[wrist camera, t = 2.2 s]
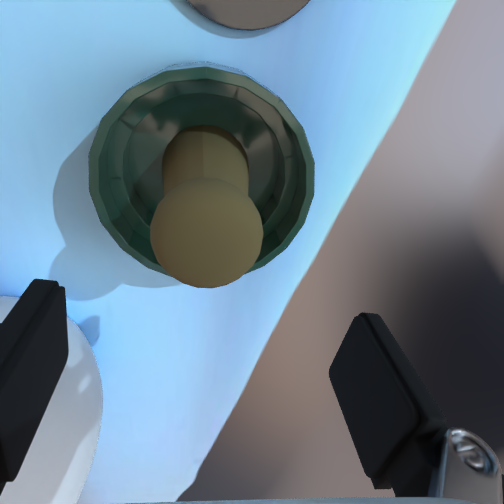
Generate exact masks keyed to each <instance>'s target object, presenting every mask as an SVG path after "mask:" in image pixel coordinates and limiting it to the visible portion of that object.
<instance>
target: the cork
mask: <svg viewBox="0 0 504 504" xmlns="http://www.w3.org/2000/svg"><path fill="white" fill-rule="evenodd" d="M162 177H163V187H164V198H163V199H162V200H161V201H160V203H159V204H158V205H157V208H156V211H155V213H154V216H153V219H152V222H151V225H150V241H151V245H152V249H153V251H154V254H155V256H156V259H157V261H158V263H159V264H160V265H161V266H162V267H163V268H164V270H165V271H166V272H167V273H168V274H169V275H171V276H172V277H174V278H176V279H177V280H179V281H180V282H182V283H184V284H187V285H190V286H194V287H197V288H215V287H220V286H224V285H227V284H229V283H231V282H233V281H235V280H237V279H239V278H240V277H241V276H243V275H244V274H245V273H246V272H247V271H248V270H249V269H250V268H251V267H252V266H253V265H254V263H255V261H256V259H257V258H258V256H259V254H260V250H261V245H262V239H263V234H264V233H263V227H262V221H261V217H260V214H259V212H258V210H257V208H256V207H255V205H254V203H253V201H252V200H251V198H249V197H248V185H249V164H248V158H247V154H246V152H245V150H244V148H243V146H242V145H241V143H240V142H239V141H238V140H237V139H236V138H235V137H234V136H233V135H232V134H231V133H230V132H228V131H225V130H223V129H221V128H219V127H217V126H210V125H198V126H193V127H188V128H186V129H185V130H183V131H181V132H180V133H178V134H176V135H175V136H174V138H173V139H172V140H171V141H170V142H169V144H168V145H167V147H166V149H165V152H164V155H163V158H162Z"/></svg>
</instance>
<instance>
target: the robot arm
mask: <svg viewBox="0 0 504 504" xmlns="http://www.w3.org/2000/svg"><path fill="white" fill-rule="evenodd" d="M68 354H69V347H68V330H67V313H66V296H65V288H64V287H62V286H59V284H58V282H57V281H53V280H43V279H34V280H33V281H32V282H31V283H30V285H29V286H28V288H27V289H26V290H25V292H24V293H23V294H22V296H21V297H20V298H19V300H18V301H17V303H16V304H15V305H14V307H13V308H12V309H11V311H10V312H9V313H8V315H7V316H6V318H5V319H4V320H3V322H2V323H0V496H1V493H2V491H3V489H4V487H5V485H6V482H13V481H14V480H15V479H16V477H17V475H18V473H19V471H20V468H21V466H22V464H23V461H24V459H25V457H26V454H27V452H28V450H29V448H30V445H31V443H32V441H33V438H34V436H35V434H36V432H37V429H38V427H39V425H40V422H41V420H42V418H43V416H44V413H45V411H46V409H47V406H48V404H49V402H50V399H51V397H52V395H53V393H54V390H55V388H56V386H57V383H58V381H59V379H60V377H61V374H62V372H63V370H64V367H65V365H66V363H67V359H68ZM329 377H330V381H331V383H332V386H333V389H334V391H335V394H336V397H337V399H338V402H339V405H340V407H341V410H342V413H343V415H344V418H345V421H346V424H347V426H348V429H349V432H350V434H351V437H352V440H353V442H354V445H355V448H356V450H357V453H358V456H359V459H360V461H361V464H362V467H363V469H364V472H365V474H366V475H367V476H368V477H369V478H371V480H372V483H373V486H374V489H391V488H393V490H394V493H395V495H396V496H395V497H366V498H365V497H364V498H314V499H313V498H311V499H269V500H230V501H192V502H159V503H126V504H504V475H503V474H502V472H501V466H500V463H499V460H498V459H497V456H496V454H495V453H494V452H493V451H492V449H491V448H490V447H489V446H488V445H487V444H486V443H485V442H484V441H483V440H482V439H481V438H479V437H478V436H477V435H475V434H474V433H472V432H470V431H468V430H466V429H463V428H459V427H454V428H450V429H449V430H448V429H447V427H446V426H445V422H446V421H447V419H446V418H445V416H444V415H443V413H442V411H441V410H440V408H439V407H438V405H437V404H436V402H435V401H434V399H433V397H432V396H431V394H430V393H429V391H428V390H427V388H426V387H425V385H424V383H423V382H422V380H421V379H420V377H419V376H418V374H417V373H416V371H415V369H414V368H413V366H412V365H411V363H410V362H409V360H408V359H407V357H406V356H405V354H404V352H403V351H402V349H401V348H400V346H399V345H398V343H397V341H396V340H395V338H394V337H393V335H392V334H391V332H390V331H389V329H388V327H387V326H386V325H385V323H384V321H383V320H382V318H381V317H380V316H379V315H378V314H373V313H360V314H359V315H358V316H356V317H354V319H353V321H352V323H351V325H350V327H349V329H348V331H347V333H346V335H345V337H344V340H343V341H342V344H341V346H340V348H339V350H338V352H337V354H336V356H335V358H334V360H333V362H332V364H331V366H330V369H329Z"/></svg>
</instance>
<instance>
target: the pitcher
mask: <svg viewBox="0 0 504 504" xmlns="http://www.w3.org/2000/svg"><path fill="white" fill-rule="evenodd" d="M19 298H20V297H12V296H0V323H2V322H3V320H4V319H5V318H6V316H7V315H8V313H9V312H10V311H11V309H12V308H13V307H14V305H15V304H16V303H17V301H18V300H19ZM67 330H68V347H69V354H68V359H67V363H66V365H65V367H64V370H63V372H62V374H61V377H60V379H59V381H58V383H57V386H56V388H55V390H54V393H53V395H52V397H51V399H50V402H49V404H48V406H47V409H46V411H45V413H44V416H43V418H42V420H41V422H40V425H39V427H38V429H37V432H36V434H35V436H34V438H33V441H32V443H31V445H30V448H29V450H28V452H27V454H26V457H25V459H24V461H23V464H22V466H21V468H20V471H19V473H18V475H17V477H16V479H15V480H14V481H13V482H6V485H5V487H4V489H3V491H2V493H1V496H0V504H77V502H78V499H79V497H80V495H81V492H82V490H83V487H84V484H85V482H86V479H87V476H88V474H89V471H90V468H91V465H92V461H93V458H94V455H95V451H96V447H97V443H98V439H99V433H100V428H101V420H102V408H103V392H102V383H101V377H100V372H99V369H98V365H97V361H96V359H95V356H94V353H93V351H92V348H91V346H90V344H89V342H88V340H87V339H86V337H85V335H84V333H83V332H82V331H81V329H80V328H79V327H78V326H77V324H76V323H75V322H74V321H73V320H71V319H70V318H69V317H68V316H67Z"/></svg>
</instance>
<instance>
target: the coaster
mask: <svg viewBox="0 0 504 504" xmlns="http://www.w3.org/2000/svg"><path fill="white" fill-rule="evenodd" d="M186 1H187V2H188V3H189V4H190V5H191V6H192V7H193V8H194V9H196V10H197V11H198V12H199V13H201V14H202V15H204V16H205V17H206V18H208V19H210V20H212V21H214V22H215V23H217V24H220V25H223V26H225V27H228V28H232V29H238V30H259V29H265V28H269V27H272V26H275V25H277V24H280V23H282V22H284V21H286V20H287V19H289V18H290V17H292V16H294V15H295V14H296V13H298V12H299V11H300V10H301V9H302V8H303V7H305V6H306V4H307V3H308V2H309V1H310V0H186Z"/></svg>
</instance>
